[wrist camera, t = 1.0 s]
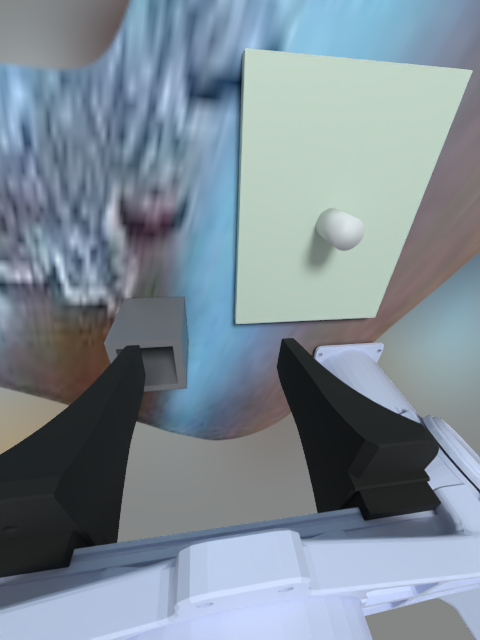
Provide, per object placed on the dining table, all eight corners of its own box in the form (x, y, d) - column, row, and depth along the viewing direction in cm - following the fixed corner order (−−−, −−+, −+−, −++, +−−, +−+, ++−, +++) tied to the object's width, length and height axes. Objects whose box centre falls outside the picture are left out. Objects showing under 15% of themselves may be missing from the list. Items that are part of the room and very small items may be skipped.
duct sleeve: (188, 341, 25) (186, 388, 21) (135, 344, 25) (120, 393, 20) (184, 296, 23) (180, 339, 18) (124, 298, 22) (103, 343, 17)
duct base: (369, 311, 27) (393, 335, 23) (234, 318, 25) (240, 344, 21) (459, 73, 16) (524, 56, 13) (242, 53, 15) (255, 27, 11)
